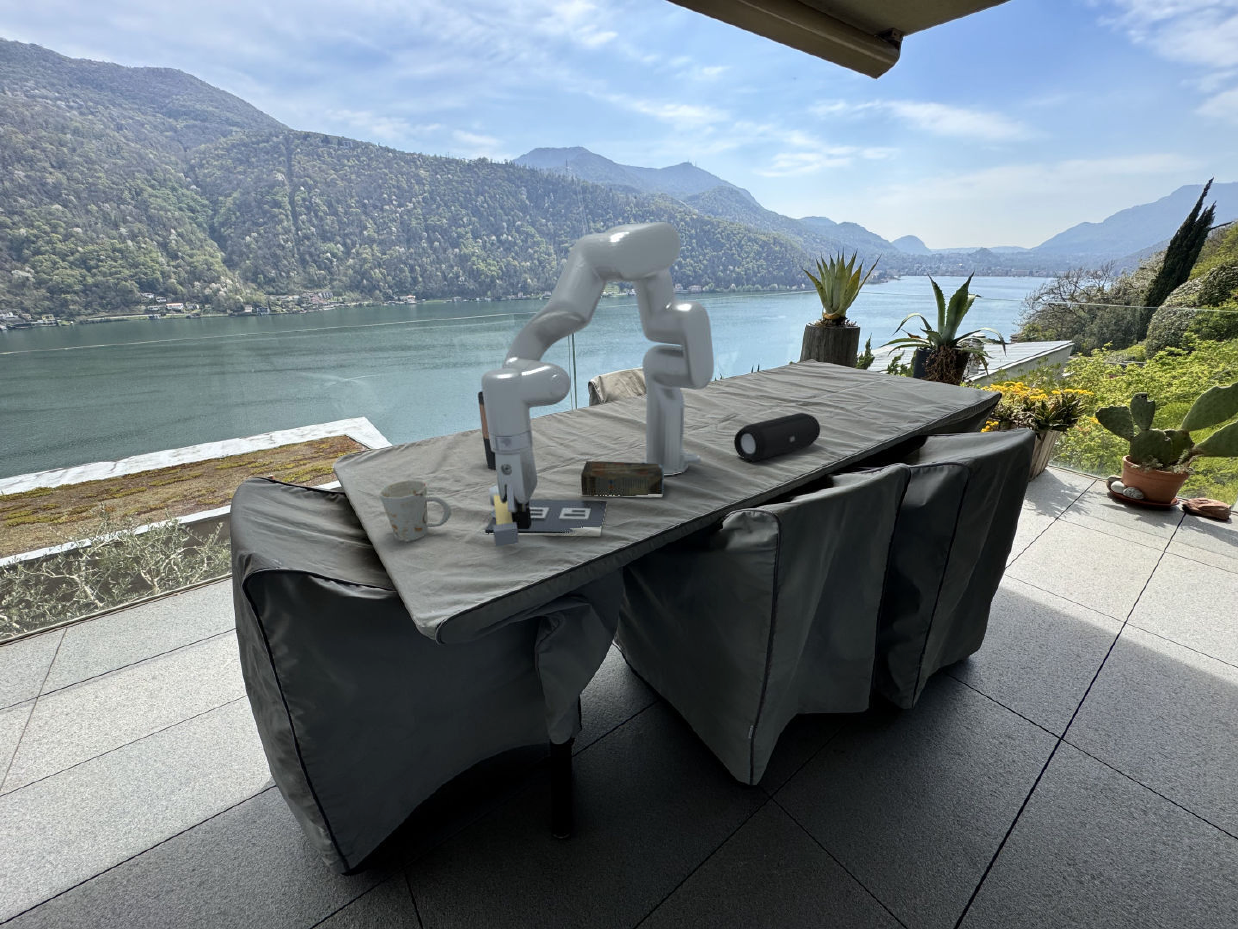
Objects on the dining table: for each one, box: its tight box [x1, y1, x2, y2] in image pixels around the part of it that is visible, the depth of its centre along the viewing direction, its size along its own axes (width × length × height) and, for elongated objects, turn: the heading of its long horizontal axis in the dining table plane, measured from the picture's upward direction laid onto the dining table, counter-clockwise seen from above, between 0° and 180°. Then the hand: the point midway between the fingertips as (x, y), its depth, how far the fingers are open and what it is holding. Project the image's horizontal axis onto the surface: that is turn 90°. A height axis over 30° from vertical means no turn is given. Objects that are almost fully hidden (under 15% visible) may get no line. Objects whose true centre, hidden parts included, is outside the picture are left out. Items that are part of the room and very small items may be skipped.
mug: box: [378, 479, 452, 541], centre depth 94 cm, size 8×13×10 cm, turn 95°
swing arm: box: [488, 484, 520, 548], centre depth 93 cm, size 20×4×3 cm, turn 16°
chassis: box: [484, 498, 608, 535], centre depth 100 cm, size 24×14×4 cm, turn 86°
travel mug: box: [477, 390, 496, 471], centre depth 126 cm, size 8×8×20 cm
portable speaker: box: [733, 412, 821, 461], centre depth 133 cm, size 26×10×10 cm, turn 121°
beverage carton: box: [580, 460, 665, 497], centre depth 112 cm, size 8×19×7 cm, turn 85°
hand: (522, 526), depth 93 cm, fingers closed
